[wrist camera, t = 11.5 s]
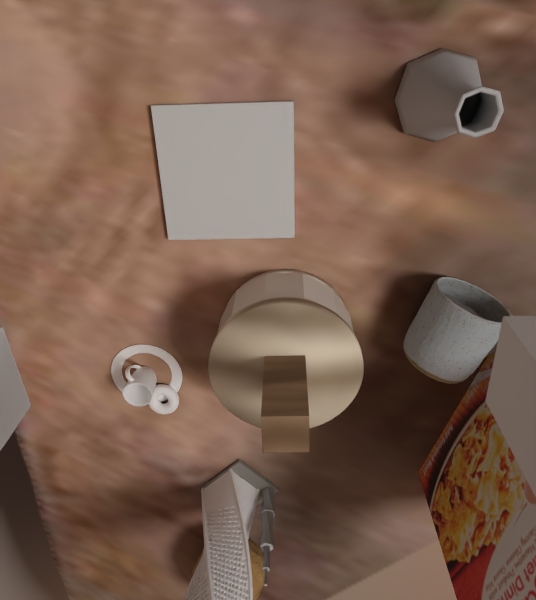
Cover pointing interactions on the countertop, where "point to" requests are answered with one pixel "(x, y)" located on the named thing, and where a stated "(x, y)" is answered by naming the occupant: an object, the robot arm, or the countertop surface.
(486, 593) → the pasta box
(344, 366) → the lid
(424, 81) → the flask
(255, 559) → the potato
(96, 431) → the countertop surface
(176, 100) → the countertop surface
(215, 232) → the mat
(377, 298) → the countertop surface
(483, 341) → the ceramic mug
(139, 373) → the cup and donut ornament
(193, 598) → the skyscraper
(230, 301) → the bowl
